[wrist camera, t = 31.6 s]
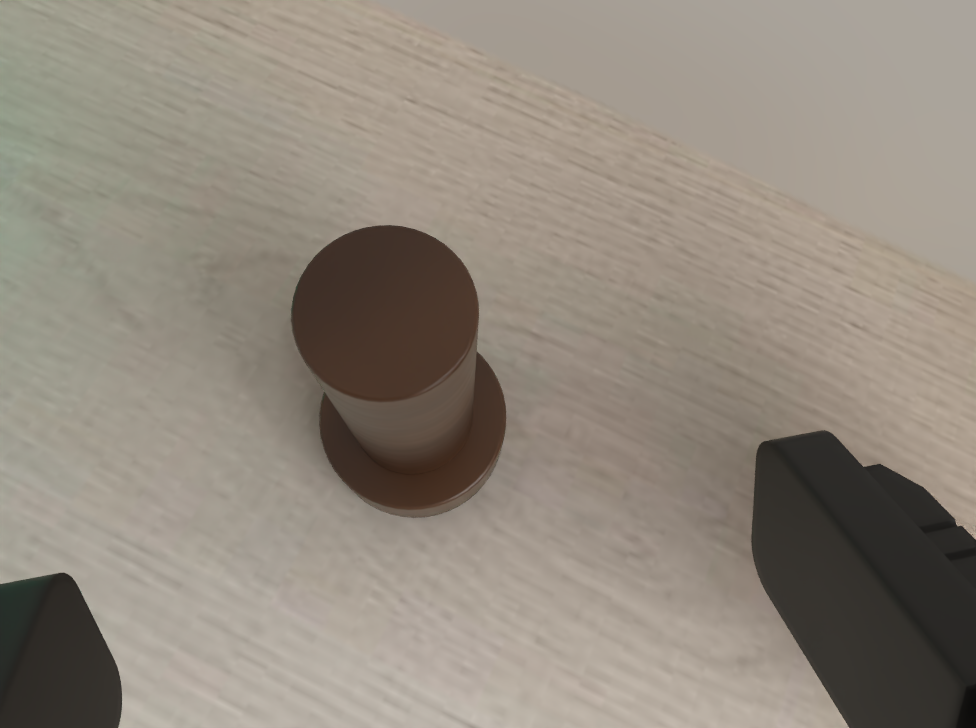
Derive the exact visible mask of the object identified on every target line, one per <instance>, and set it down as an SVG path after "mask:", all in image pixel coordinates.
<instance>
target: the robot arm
mask: <svg viewBox="0 0 976 728" xmlns="http://www.w3.org/2000/svg"><path fill="white" fill-rule="evenodd" d="M752 551H753V557H754V562H755V566H756V569H757V572H758V575H759V578H760V581H761V583H762V585H763V587H764V589H765V591H766V593H767V595H768V596H769V598H770V599H771V601H772V603H773V604H774V606H775V608H776V609H777V611H778V612H779V614H780V616H781V617H782V619H783V621H784V622H785V624H786V625H787V627H788V629H789V630H790V632H791V634H792V635H793V637H794V638H795V640H796V642H797V643H798V645H799V647H800V648H801V650H802V651H803V653H804V655H805V656H806V658H807V660H808V661H809V663H810V664H811V666H812V668H813V669H814V671H815V673H816V674H817V676H818V677H819V679H820V681H821V682H822V684H823V686H824V687H825V689H826V690H827V692H828V694H829V695H830V697H831V699H832V700H833V702H834V703H835V705H836V707H837V708H838V710H839V712H840V713H841V715H842V716H843V718H844V720H845V721H846V723H847V725H848V726H849V728H976V540H975V539H974V538H973V537H972V536H971V535H970V534H969V533H968V532H967V531H966V530H965V529H964V528H963V527H962V526H957V525H956V523H955V519H954V518H953V517H952V516H951V515H950V514H949V513H948V512H947V511H946V510H945V509H944V508H943V507H942V506H941V505H940V504H939V503H938V502H937V501H936V500H935V499H934V498H933V497H932V496H931V495H930V493H929V492H928V491H927V490H926V489H925V488H923V487H922V486H920V485H918V484H916V483H914V482H912V481H911V480H909V479H907V478H905V477H903V476H901V475H900V474H898V473H896V472H894V471H892V470H890V469H889V468H887V467H885V466H883V465H881V464H877V465H872V466H867V467H863V466H862V465H861V464H860V463H859V462H858V461H857V460H856V458H855V457H854V456H853V455H852V454H851V453H850V452H849V451H848V450H847V449H846V448H845V447H844V445H843V444H842V443H841V442H840V441H839V440H838V439H837V438H836V437H835V436H834V435H833V434H831V433H830V432H828V431H825V430H824V431H817V432H811V433H806V434H801V435H795V436H790V437H785V438H780V439H774V440H769V441H764V442H762V443H761V444H760V445H759V448H758V450H757V455H756V469H755V486H754V503H753V521H752ZM121 710H122V688H121V681H120V676H119V671H118V668H117V665H116V663H115V661H114V658H113V656H112V654H111V652H110V650H109V648H108V646H107V644H106V642H105V640H104V638H103V636H102V634H101V632H100V630H99V628H98V626H97V624H96V622H95V620H94V618H93V616H92V614H91V612H90V610H89V608H88V606H87V604H86V602H85V600H84V598H83V596H82V593H81V591H80V589H79V587H78V586H77V584H76V582H75V581H74V579H73V578H72V577H71V576H69V575H68V574H66V573H57V574H52V575H47V576H41V577H36V578H31V579H26V580H20V581H15V582H10V583H4V584H0V728H118V726H119V722H120V718H121Z"/></svg>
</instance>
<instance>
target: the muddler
mask: <svg viewBox="0 0 976 728" xmlns="http://www.w3.org/2000/svg"><path fill="white" fill-rule="evenodd" d="M291 323H292V332H293V336H294V339H295V343H296V345H297V348H298V350H299V352H300V355H301V356H302V358H303V360H304V361H305V363H306V365H307V366H308V368H309V369H310V371H311V372H312V374H313V375H314V377H315V378H316V380H317V381H318V383H319V384H320V386H321V387H322V389H323V390H324V394H323V397H322V401H321V407H320V415H319V426H320V434H321V440H322V444H323V447H324V450H325V453H326V455H327V458H328V460H329V462H330V463H331V465H332V467H333V469H334V470H335V472H336V473H337V474H338V475H339V477H340V478H341V479H342V480H343V481H344V482H345V483H346V484H347V485H348V486H349V487H350V488H351V489H352V490H353V491H354V492H355V493H356V494H357V495H358V496H359V497H360V498H361V499H363V500H364V501H365V502H367V503H368V504H370V505H371V506H373V507H375V508H377V509H379V510H381V511H384V512H386V513H389V514H393V515H397V516H401V517H412V518H416V517H428V516H434V515H438V514H441V513H444V512H447V511H450V510H452V509H454V508H456V507H458V506H460V505H461V504H463V503H464V502H466V501H467V500H469V499H470V498H471V497H472V496H473V495H475V494H476V493H477V492H478V491H479V489H480V488H481V487H482V486H483V485H484V484H485V482H486V481H487V479H488V478H489V477H490V475H491V473H492V471H493V469H494V467H495V465H496V463H497V460H498V457H499V454H500V451H501V447H502V443H503V439H504V434H505V428H506V406H505V401H504V395H503V392H502V389H501V386H500V383H499V381H498V379H497V377H496V375H495V373H494V372H493V370H492V369H491V367H490V366H489V364H488V363H487V362H486V361H485V359H484V358H483V357H482V356H481V355H480V354H479V353H478V352H477V339H478V323H479V302H478V297H477V292H476V289H475V286H474V283H473V280H472V278H471V276H470V274H469V272H468V270H467V268H466V267H465V265H464V264H463V262H462V261H461V260H460V259H459V258H458V256H457V255H456V254H455V253H454V252H453V251H452V250H451V249H450V248H448V247H447V246H446V245H445V244H443V243H442V242H440V241H439V240H437V239H436V238H434V237H432V236H430V235H428V234H426V233H423V232H421V231H418V230H415V229H411V228H407V227H402V226H392V225H384V226H372V227H366V228H362V229H359V230H355V231H353V232H350V233H348V234H345V235H343V236H341V237H340V238H338V239H336V240H334V241H333V242H331V243H330V244H329V245H327V246H326V247H325V248H323V249H322V250H321V251H320V252H319V253H318V254H317V255H316V256H315V257H314V258H313V260H312V261H311V262H310V263H309V264H308V266H307V267H306V269H305V270H304V272H303V274H302V275H301V277H300V280H299V282H298V284H297V286H296V290H295V293H294V296H293V301H292V308H291Z"/></svg>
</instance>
